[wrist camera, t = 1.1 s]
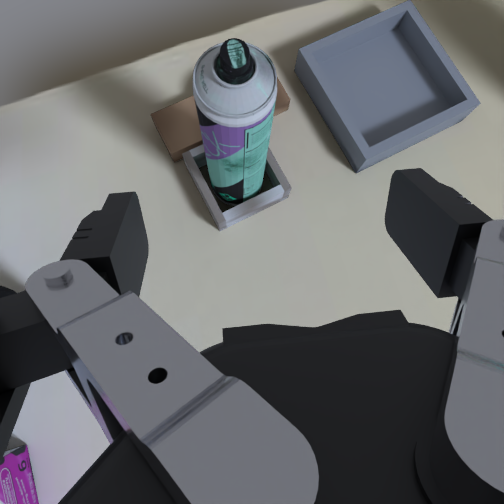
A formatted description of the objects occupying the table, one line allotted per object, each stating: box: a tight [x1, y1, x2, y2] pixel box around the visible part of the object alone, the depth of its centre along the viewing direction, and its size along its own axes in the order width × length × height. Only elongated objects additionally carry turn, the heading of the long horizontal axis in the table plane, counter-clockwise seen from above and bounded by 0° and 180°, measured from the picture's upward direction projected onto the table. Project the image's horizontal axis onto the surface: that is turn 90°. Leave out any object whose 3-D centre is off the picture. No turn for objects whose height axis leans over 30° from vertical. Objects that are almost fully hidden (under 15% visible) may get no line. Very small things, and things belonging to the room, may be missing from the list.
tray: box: [294, 0, 481, 173], centre depth 42 cm, size 14×14×4 cm
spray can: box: [193, 38, 277, 206], centre depth 31 cm, size 6×6×20 cm
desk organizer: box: [151, 78, 291, 231], centre depth 40 cm, size 14×15×4 cm
